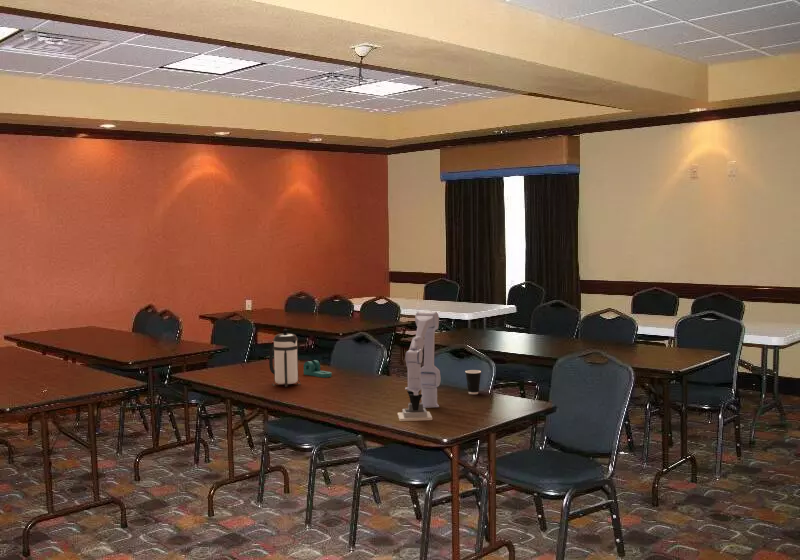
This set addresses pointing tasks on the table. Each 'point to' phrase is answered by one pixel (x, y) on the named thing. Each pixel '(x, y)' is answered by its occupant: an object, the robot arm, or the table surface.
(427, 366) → the robot arm
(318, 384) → the table surface
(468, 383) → the dixie cup
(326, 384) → the table surface
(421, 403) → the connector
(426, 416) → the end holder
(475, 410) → the table surface
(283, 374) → the coffee press
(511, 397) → the table surface
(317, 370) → the bracket
